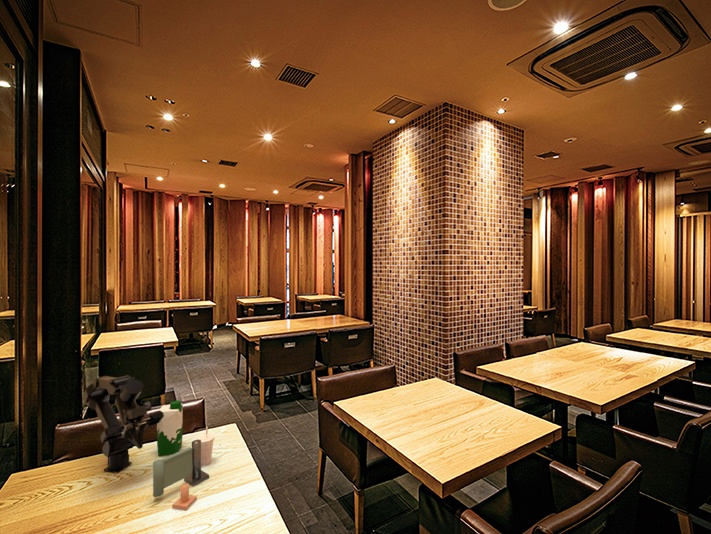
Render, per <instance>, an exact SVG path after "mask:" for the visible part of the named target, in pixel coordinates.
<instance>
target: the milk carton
mask: <svg viewBox="0 0 711 534" xmlns="http://www.w3.org/2000/svg"><path fill="white" fill-rule="evenodd" d="M183 406H184V404H183V403H182V401H181V400H173V401H170V403H169V404H164V405H162V406H161V407H160V408H159V409H158V411H162V412H163V414H164V417H163V418H162V420H161V421H160V422H159V423H158V424H156V445H157V446H156V449H157V457H158V456H159V457H168V456H170V455H172V454H175V453H177V452H179V451H181V448H182V445H183Z"/></svg>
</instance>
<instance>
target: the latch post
mask: <svg viewBox="0 0 711 534" xmlns="http://www.w3.org/2000/svg"><path fill="white" fill-rule="evenodd" d="M179 486H180V496H179V498H178V499H177V500H176V501H175V502H173V503H172V504H171V509H174V510H181V511H187V510H189V509H190V507H191V506H193V504H194V503H195V502H197V500H198V497H197V495H191V494H190V485H189V483H187V482H184V483H182V484H181V485H179Z"/></svg>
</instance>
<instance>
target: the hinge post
mask: <svg viewBox="0 0 711 534" xmlns="http://www.w3.org/2000/svg"><path fill="white" fill-rule="evenodd" d="M191 448H192V475H190V476H188V477H186V478H184V479H183V481H184V483H189V486H191V487H192V488H194V487H196V486H198V485H199V484H201V483H203V482H205V481H207V480H208V479H210V474H209V473H207V472H205V471H203V470H202V465H201V440H197V439H195V440H192V441H191Z"/></svg>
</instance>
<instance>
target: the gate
mask: <svg viewBox="0 0 711 534" xmlns="http://www.w3.org/2000/svg"><path fill="white" fill-rule="evenodd" d="M190 475H192V446H189V447H186V448H184V449H180V450H179V452H177V453H175V454H172V455H167V456H164V458H161V459H157V460H156V459H155V460H154V461H153V462H152V484H153V485H152V491H153V493H152V497H154V498H159V497H161V496H163V495H164V493H165V491H164V490H165V489H167V488H168V487H170V486H173V485H174V484H176V483H178V482H179V481H181V480H184V478H186V477H188V476H190Z"/></svg>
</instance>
